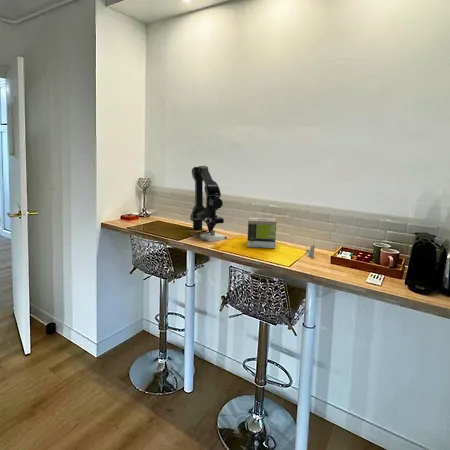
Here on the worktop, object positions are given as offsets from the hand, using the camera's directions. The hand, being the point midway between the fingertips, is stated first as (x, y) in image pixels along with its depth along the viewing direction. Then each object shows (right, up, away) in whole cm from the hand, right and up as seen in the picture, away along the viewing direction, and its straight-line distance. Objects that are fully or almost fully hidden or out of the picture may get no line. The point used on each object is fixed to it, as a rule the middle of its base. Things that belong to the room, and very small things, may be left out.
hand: (210, 232), depth 200 cm
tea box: (+28, -7, -10) cm, 31 cm away
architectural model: (+46, -12, -28) cm, 55 cm away
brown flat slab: (-1, -3, +2) cm, 4 cm away
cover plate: (+1, -3, -1) cm, 4 cm away
